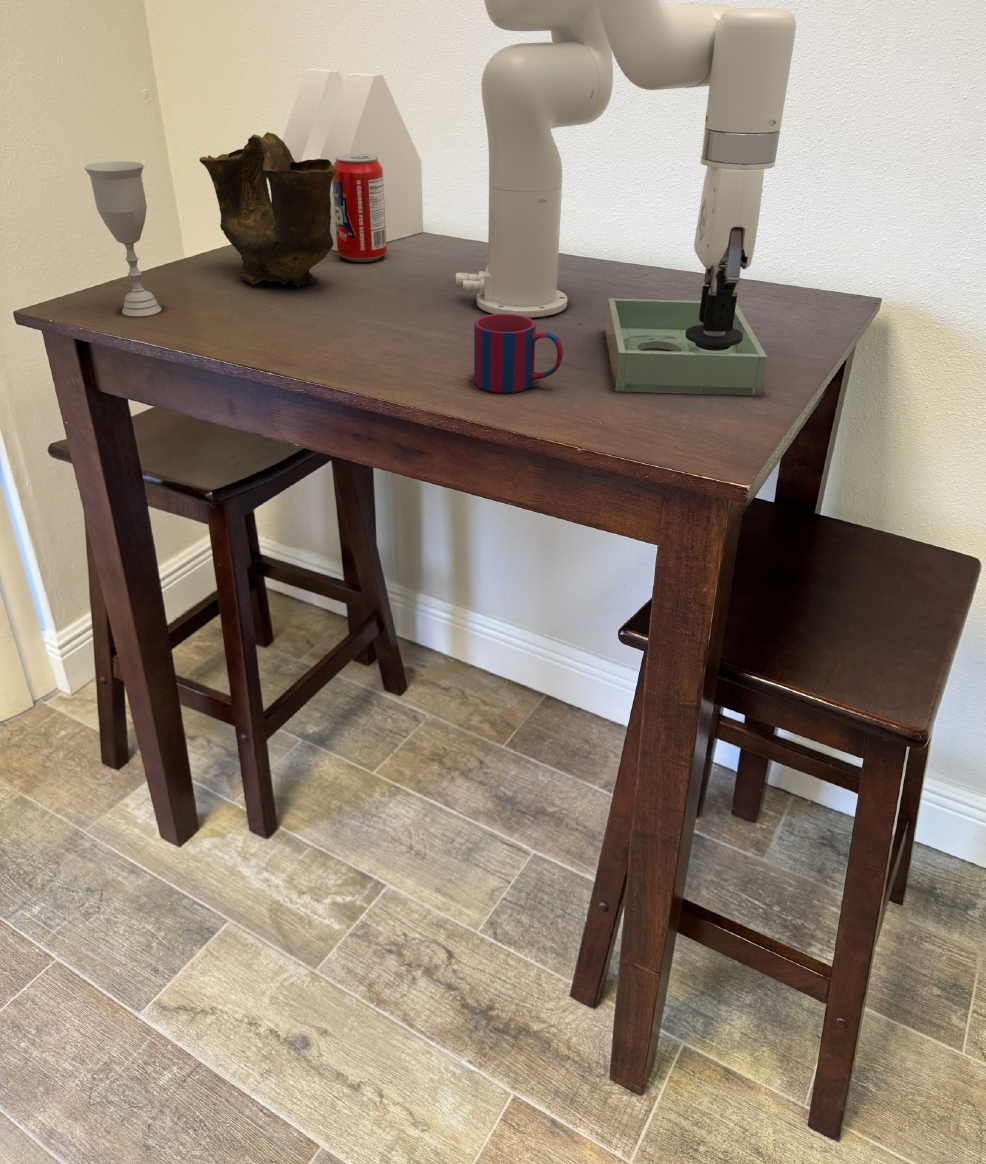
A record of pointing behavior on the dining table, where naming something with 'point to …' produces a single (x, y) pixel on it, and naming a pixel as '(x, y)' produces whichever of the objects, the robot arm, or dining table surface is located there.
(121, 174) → the chalice
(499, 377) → the mug
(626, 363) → the sink
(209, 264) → the dining table surface
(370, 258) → the soda can
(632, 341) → the sink floor
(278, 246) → the pottery vessel
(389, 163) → the white twin peaked block
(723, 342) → the plug
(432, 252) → the dining table surface
